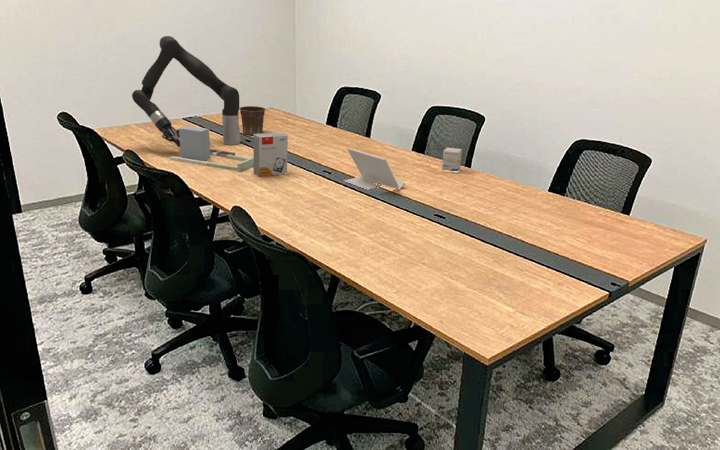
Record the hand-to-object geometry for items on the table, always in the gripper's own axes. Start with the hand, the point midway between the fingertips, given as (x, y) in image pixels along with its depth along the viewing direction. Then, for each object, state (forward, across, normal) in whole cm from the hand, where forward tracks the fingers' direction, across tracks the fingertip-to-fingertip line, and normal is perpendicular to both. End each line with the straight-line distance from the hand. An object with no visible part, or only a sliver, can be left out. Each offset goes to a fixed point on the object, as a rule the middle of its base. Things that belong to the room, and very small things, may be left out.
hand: (180, 145), depth 315 cm
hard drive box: (+45, -5, -37) cm, 59 cm away
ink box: (+102, +47, -94) cm, 146 cm away
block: (+10, 0, -3) cm, 11 cm away
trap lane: (+19, +2, -12) cm, 23 cm away
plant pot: (+7, +66, +1) cm, 66 cm away
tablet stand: (+83, +3, -74) cm, 111 cm away
